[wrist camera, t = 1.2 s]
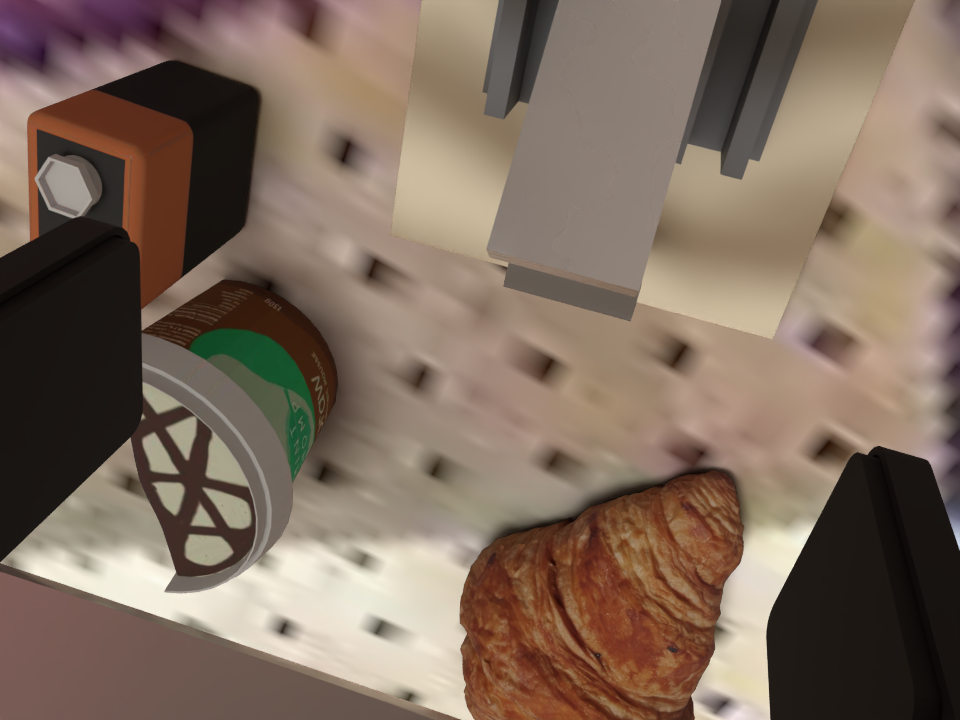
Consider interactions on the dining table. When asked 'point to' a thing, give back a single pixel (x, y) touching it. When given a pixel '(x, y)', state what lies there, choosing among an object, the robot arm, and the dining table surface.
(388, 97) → the dining table surface
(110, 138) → the battery
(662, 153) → the clamp bar
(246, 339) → the food container
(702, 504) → the pastry
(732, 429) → the dining table surface
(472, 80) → the heatsink board
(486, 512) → the dining table surface
